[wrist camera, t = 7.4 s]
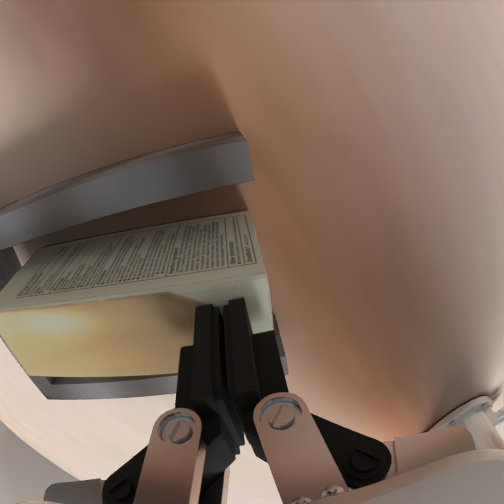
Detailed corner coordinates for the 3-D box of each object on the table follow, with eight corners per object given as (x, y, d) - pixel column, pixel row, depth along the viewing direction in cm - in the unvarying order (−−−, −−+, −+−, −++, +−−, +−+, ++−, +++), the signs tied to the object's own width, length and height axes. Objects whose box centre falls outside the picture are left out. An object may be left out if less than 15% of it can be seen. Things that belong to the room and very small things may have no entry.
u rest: (239, 132, 14) (246, 140, 11) (278, 332, 19) (288, 374, 16) (-17, 216, 14) (-50, 240, 10) (61, 364, 19) (47, 399, 16)
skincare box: (262, 281, 17) (68, 305, 17) (252, 206, 15) (42, 243, 15) (279, 369, 12) (27, 379, 11) (269, 275, 10) (-19, 309, 9)
